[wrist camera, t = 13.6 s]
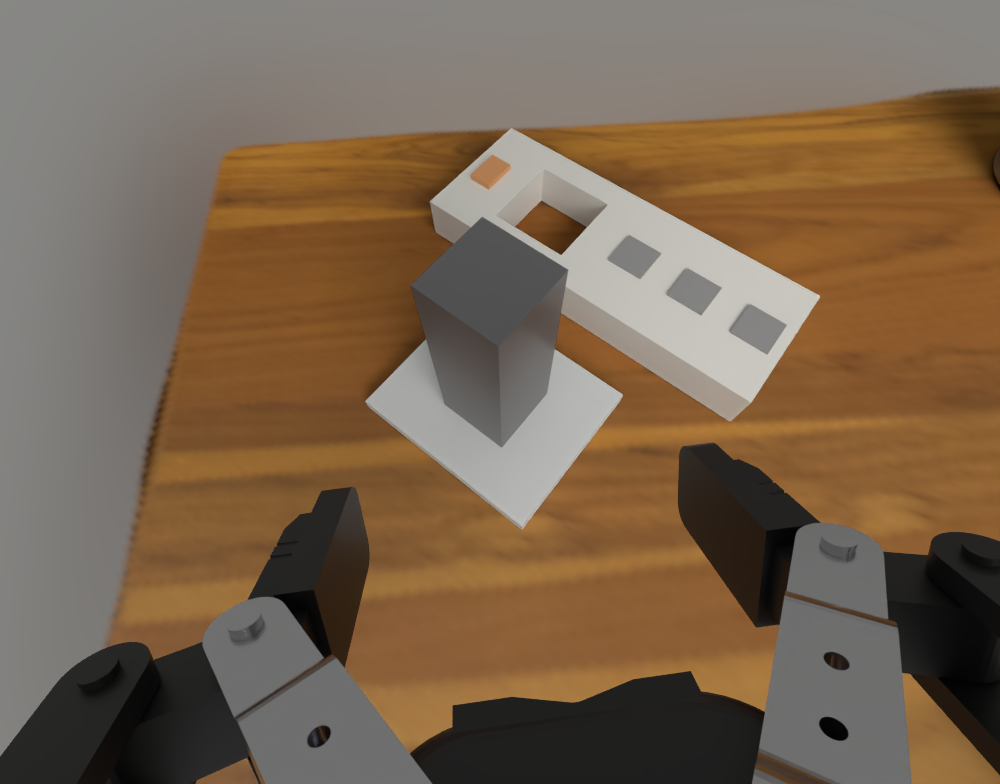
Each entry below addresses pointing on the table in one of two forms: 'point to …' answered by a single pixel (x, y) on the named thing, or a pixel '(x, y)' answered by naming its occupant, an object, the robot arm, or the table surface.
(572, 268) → the power strip
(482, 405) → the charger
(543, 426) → the mat
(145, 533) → the table surface
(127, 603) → the table surface
